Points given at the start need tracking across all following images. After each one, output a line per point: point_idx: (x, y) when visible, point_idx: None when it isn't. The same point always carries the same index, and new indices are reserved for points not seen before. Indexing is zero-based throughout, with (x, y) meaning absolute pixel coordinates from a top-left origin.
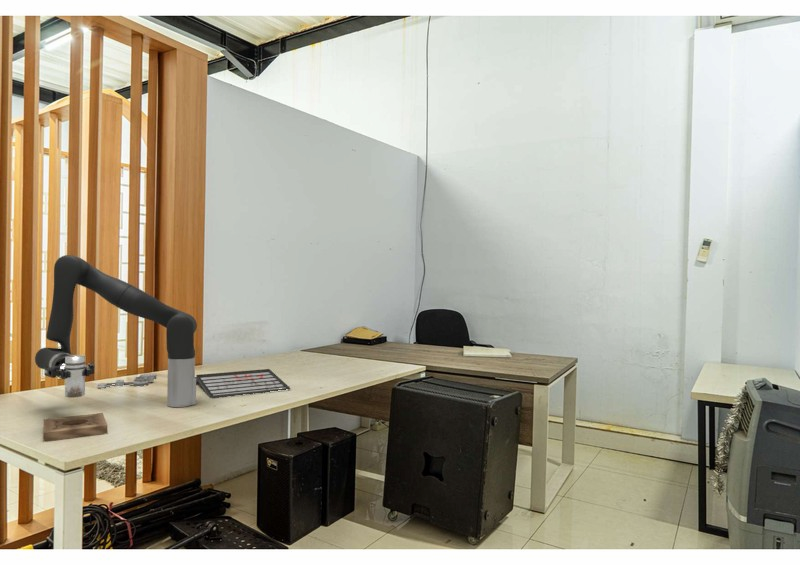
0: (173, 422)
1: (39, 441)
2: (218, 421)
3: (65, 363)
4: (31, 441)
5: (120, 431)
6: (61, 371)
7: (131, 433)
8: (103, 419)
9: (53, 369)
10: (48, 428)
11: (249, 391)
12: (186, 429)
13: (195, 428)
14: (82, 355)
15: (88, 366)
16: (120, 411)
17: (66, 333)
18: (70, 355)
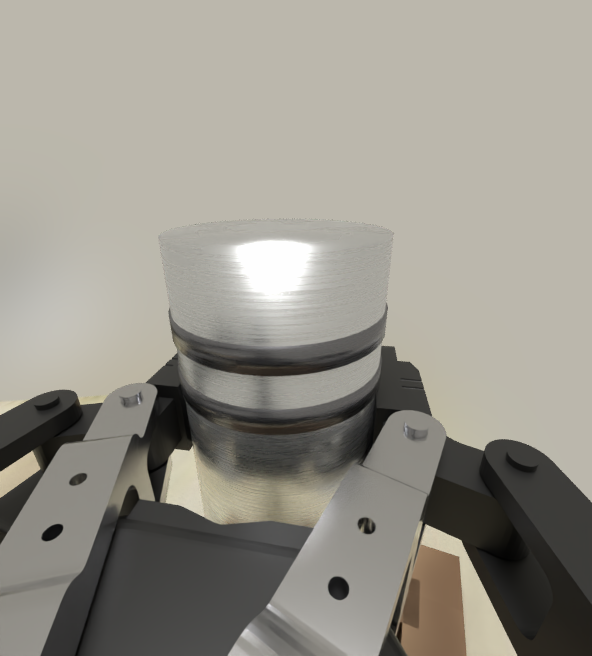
0: (27, 470)
1: (469, 603)
2: (2, 403)
3: (386, 308)
4: (508, 637)
5: (191, 498)
6: (413, 406)
7: (192, 456)
8: None
9: (522, 450)
10: (439, 631)
11: None
12: (103, 401)
13: (88, 396)
14: (186, 232)
15: (113, 391)
16: None
17: None
18: (293, 250)
